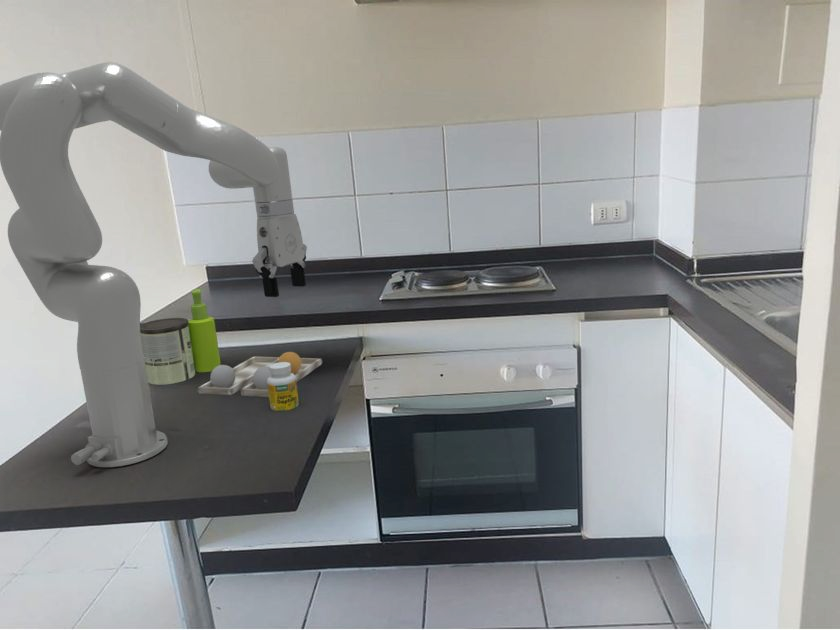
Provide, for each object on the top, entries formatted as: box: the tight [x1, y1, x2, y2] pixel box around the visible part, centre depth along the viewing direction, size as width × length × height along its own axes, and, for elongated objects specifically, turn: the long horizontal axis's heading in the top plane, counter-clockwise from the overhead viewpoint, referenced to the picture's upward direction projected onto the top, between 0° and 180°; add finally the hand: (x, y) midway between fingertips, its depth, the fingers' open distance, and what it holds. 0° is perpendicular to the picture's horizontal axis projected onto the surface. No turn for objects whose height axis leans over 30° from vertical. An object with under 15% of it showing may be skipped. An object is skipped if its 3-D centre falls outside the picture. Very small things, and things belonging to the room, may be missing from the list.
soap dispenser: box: [188, 288, 222, 373], centre depth 143 cm, size 6×7×20 cm
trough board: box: [197, 356, 323, 398], centre depth 135 cm, size 24×19×3 cm
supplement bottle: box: [267, 362, 300, 412], centre depth 117 cm, size 5×5×10 cm
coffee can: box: [140, 317, 196, 385], centre depth 138 cm, size 10×10×14 cm
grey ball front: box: [253, 366, 271, 390], centre depth 126 cm, size 5×5×5 cm
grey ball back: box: [210, 364, 235, 388], centre depth 129 cm, size 5×5×5 cm
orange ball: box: [278, 351, 301, 374], centre depth 136 cm, size 5×5×5 cm
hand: (286, 291), depth 131 cm, fingers open, 9 cm apart
